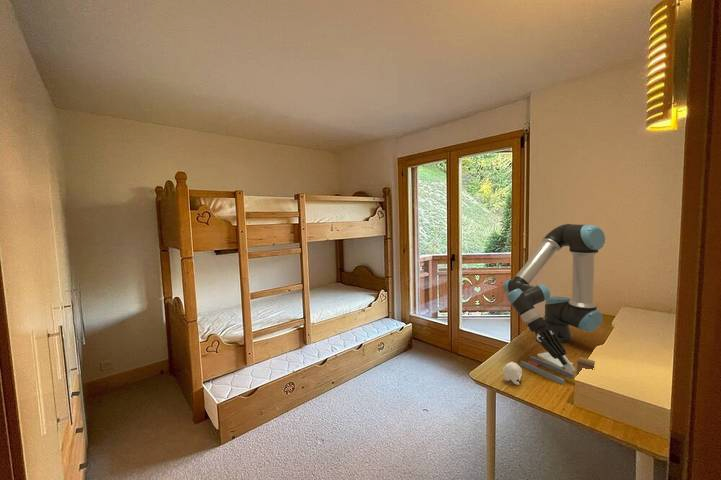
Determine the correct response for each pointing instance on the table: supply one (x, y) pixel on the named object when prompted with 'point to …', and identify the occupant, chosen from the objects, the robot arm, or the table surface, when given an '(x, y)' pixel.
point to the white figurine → (512, 372)
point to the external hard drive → (551, 359)
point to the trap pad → (533, 363)
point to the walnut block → (584, 364)
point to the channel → (545, 373)
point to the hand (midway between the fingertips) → (572, 371)
